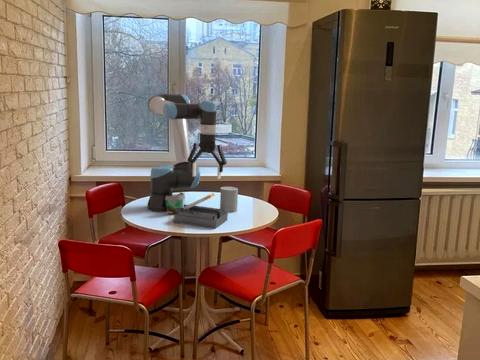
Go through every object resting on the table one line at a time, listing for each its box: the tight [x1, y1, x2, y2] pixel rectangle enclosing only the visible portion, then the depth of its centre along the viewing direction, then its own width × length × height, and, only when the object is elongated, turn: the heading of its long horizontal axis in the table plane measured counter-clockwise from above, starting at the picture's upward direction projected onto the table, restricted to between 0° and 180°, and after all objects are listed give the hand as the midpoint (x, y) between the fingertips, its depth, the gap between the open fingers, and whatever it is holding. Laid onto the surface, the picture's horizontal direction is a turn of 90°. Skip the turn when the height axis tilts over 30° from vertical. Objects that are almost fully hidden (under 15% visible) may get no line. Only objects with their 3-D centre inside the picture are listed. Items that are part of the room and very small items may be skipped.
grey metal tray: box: [173, 204, 229, 230], centre depth 236 cm, size 22×16×7 cm
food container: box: [165, 191, 186, 216], centre depth 248 cm, size 12×6×10 cm, turn 148°
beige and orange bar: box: [182, 192, 216, 211], centre depth 235 cm, size 18×5×2 cm, turn 71°
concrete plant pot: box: [219, 186, 239, 214], centre depth 258 cm, size 10×10×12 cm
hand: (206, 177), depth 232 cm, fingers open, 12 cm apart
